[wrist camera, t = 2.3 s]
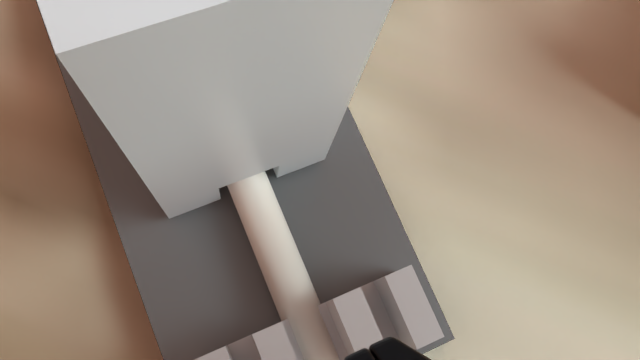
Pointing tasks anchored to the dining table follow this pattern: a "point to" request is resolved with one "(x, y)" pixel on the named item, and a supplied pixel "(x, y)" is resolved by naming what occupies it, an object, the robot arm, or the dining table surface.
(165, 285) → the cord comb board
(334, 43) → the open-bottomed white box
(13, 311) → the dining table surface
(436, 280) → the dining table surface
